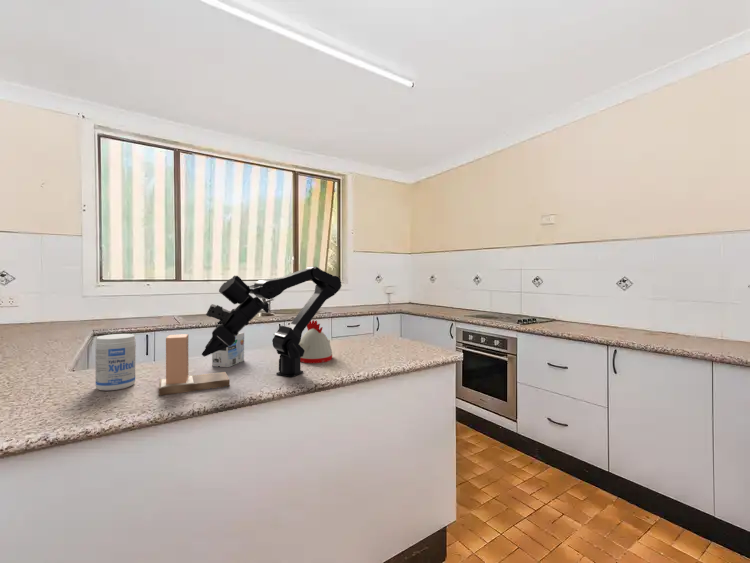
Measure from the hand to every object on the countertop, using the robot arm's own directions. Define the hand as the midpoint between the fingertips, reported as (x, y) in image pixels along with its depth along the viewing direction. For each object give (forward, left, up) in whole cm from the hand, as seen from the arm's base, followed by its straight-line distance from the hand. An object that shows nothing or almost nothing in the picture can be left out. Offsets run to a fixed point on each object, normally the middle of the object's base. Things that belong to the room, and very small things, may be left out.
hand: (204, 351), depth 108 cm
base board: (+2, +1, -10) cm, 11 cm away
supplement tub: (+22, +12, -10) cm, 27 cm away
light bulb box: (+14, -22, -10) cm, 28 cm away
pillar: (+5, +5, -8) cm, 11 cm away
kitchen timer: (-9, -43, -10) cm, 45 cm away
